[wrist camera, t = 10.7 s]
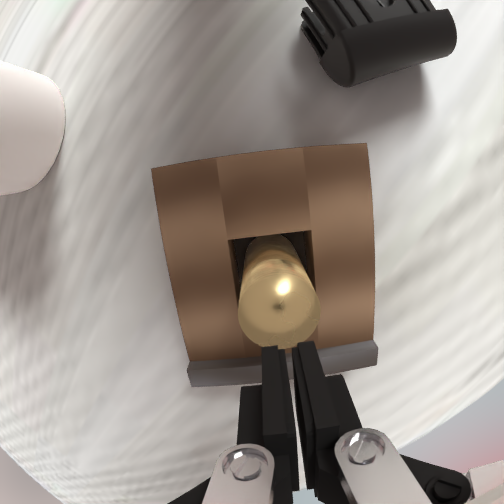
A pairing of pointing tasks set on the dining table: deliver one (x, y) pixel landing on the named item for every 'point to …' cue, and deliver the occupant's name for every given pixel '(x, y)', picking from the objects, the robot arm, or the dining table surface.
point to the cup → (28, 127)
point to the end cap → (376, 36)
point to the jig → (267, 223)
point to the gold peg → (276, 294)
